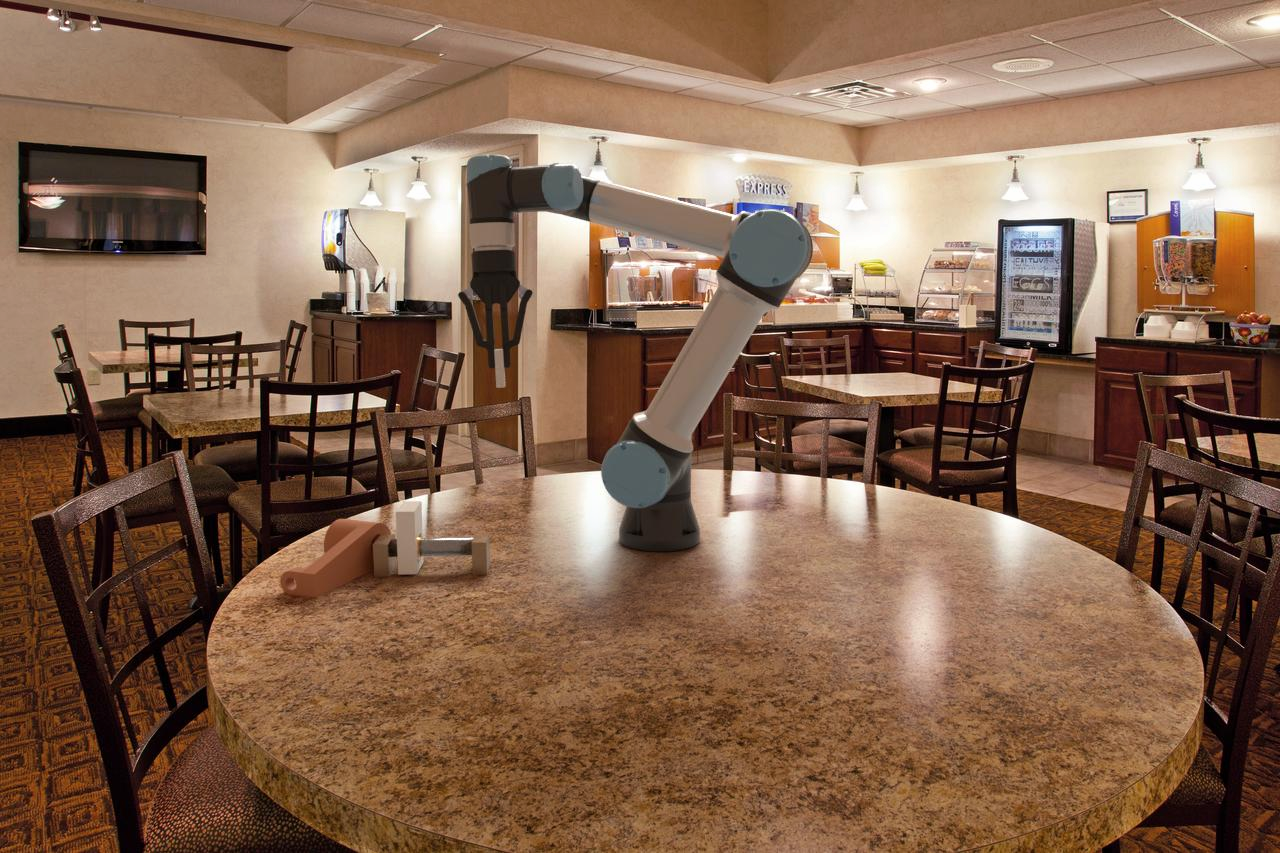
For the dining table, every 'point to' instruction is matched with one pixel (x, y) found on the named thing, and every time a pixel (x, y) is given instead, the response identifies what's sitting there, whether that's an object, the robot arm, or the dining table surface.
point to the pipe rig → (434, 551)
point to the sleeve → (409, 536)
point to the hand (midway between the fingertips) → (500, 386)
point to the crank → (337, 559)
